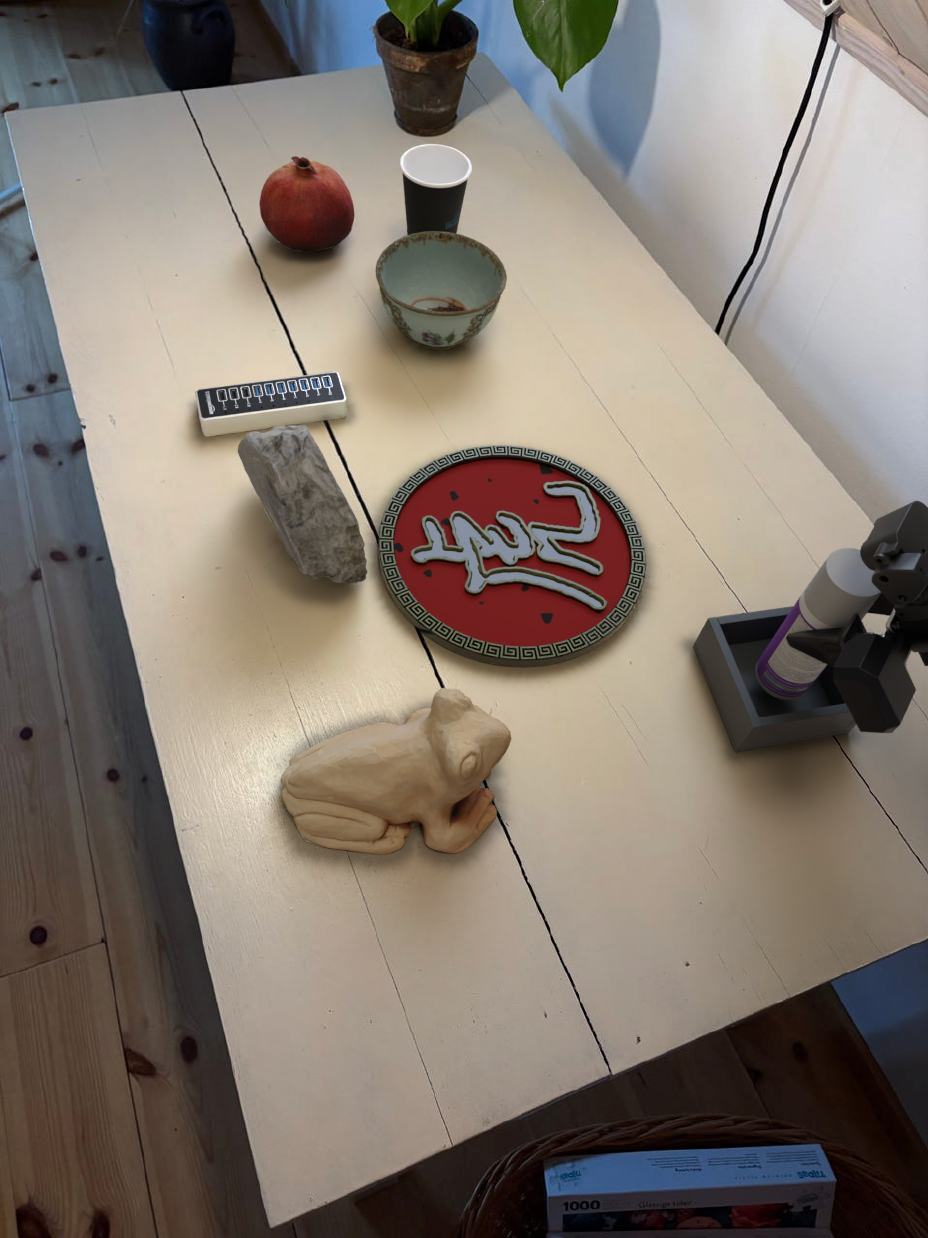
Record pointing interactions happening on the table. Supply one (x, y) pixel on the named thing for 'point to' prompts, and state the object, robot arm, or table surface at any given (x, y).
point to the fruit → (306, 206)
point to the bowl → (440, 287)
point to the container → (816, 622)
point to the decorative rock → (305, 503)
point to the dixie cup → (434, 187)
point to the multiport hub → (271, 403)
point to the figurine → (400, 780)
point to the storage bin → (741, 700)
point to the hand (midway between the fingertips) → (800, 618)
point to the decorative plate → (511, 556)
